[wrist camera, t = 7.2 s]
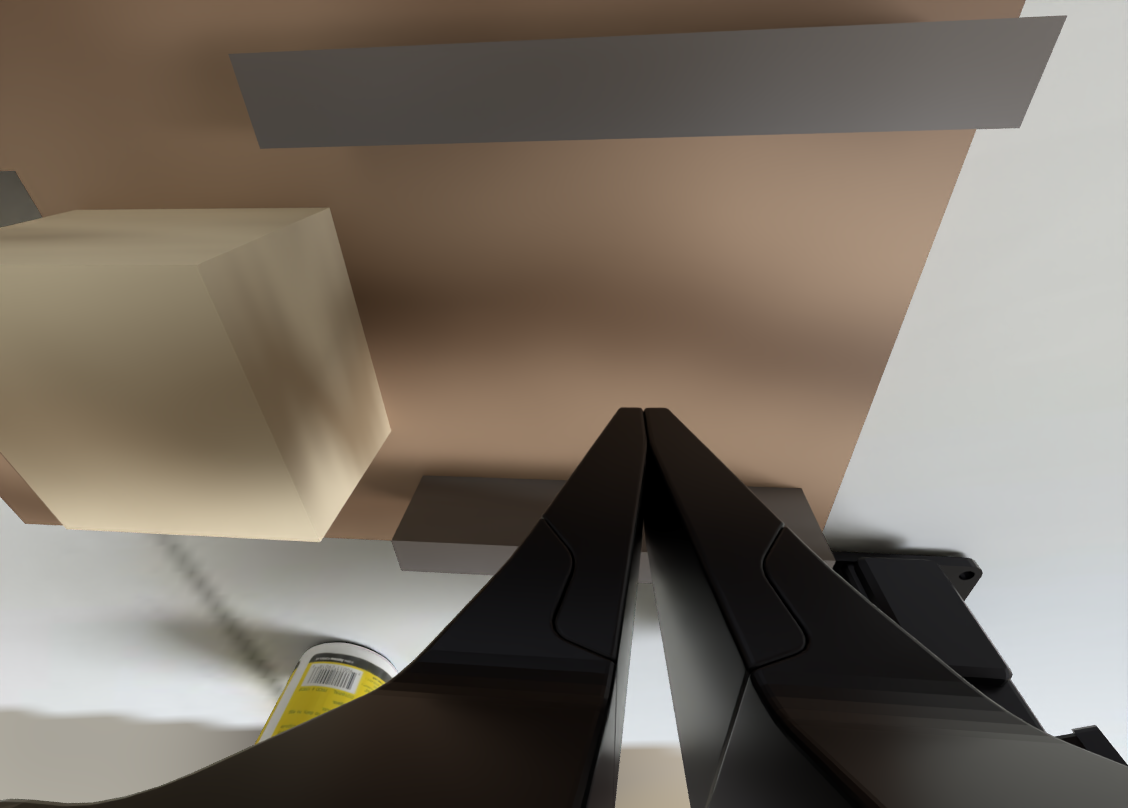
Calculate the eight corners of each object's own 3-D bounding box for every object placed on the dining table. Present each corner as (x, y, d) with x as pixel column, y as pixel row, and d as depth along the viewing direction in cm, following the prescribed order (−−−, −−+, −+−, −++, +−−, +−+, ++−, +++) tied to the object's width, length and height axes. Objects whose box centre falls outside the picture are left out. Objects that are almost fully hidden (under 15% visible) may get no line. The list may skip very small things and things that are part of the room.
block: (391, 431, 14) (320, 542, 10) (194, 425, 14) (66, 529, 11) (329, 207, 10) (196, 265, 7) (75, 210, 11) (-161, 265, 8)
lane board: (787, 502, 17) (843, 634, 13) (87, 477, 20) (-54, 582, 15) (967, -80, 9) (1273, -219, 5) (-278, -1, 11) (-789, -50, 7)
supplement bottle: (355, 699, 29) (253, 944, 20) (283, 652, 26) (135, 908, 18) (423, 680, 27) (339, 942, 18) (352, 628, 24) (221, 902, 16)
